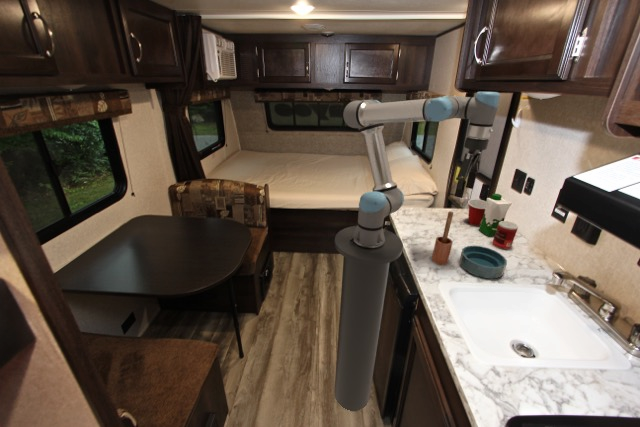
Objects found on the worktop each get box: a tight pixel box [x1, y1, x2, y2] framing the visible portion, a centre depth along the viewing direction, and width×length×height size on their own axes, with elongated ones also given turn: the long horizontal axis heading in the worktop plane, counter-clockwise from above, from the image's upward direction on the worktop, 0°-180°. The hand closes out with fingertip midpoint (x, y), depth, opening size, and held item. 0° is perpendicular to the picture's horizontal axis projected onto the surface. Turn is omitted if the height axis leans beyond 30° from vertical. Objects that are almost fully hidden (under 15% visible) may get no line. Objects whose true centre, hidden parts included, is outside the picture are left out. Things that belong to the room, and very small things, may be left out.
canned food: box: [492, 220, 519, 250], centre depth 136 cm, size 8×8×11 cm
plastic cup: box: [467, 198, 487, 226], centre depth 156 cm, size 11×11×12 cm
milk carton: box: [478, 193, 512, 237], centre depth 145 cm, size 9×9×20 cm
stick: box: [441, 211, 454, 244], centre depth 120 cm, size 3×3×22 cm
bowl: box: [458, 245, 508, 279], centre depth 120 cm, size 16×16×6 cm
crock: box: [431, 236, 454, 266], centre depth 123 cm, size 6×6×10 cm
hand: (464, 192), depth 115 cm, fingers open, 13 cm apart
